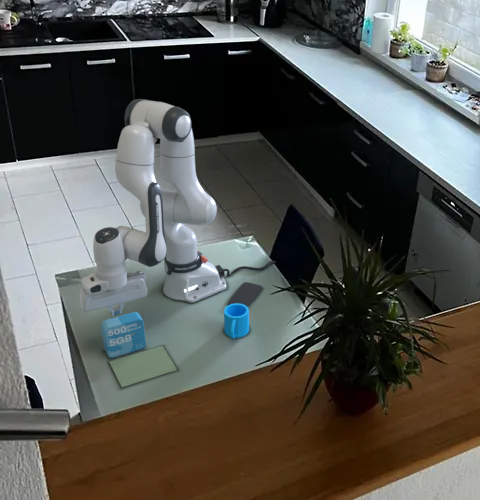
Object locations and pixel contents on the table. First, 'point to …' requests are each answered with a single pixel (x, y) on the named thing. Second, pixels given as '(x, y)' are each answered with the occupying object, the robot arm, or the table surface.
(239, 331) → the mug
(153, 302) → the table surface
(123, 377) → the mat
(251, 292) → the phone
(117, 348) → the data package
